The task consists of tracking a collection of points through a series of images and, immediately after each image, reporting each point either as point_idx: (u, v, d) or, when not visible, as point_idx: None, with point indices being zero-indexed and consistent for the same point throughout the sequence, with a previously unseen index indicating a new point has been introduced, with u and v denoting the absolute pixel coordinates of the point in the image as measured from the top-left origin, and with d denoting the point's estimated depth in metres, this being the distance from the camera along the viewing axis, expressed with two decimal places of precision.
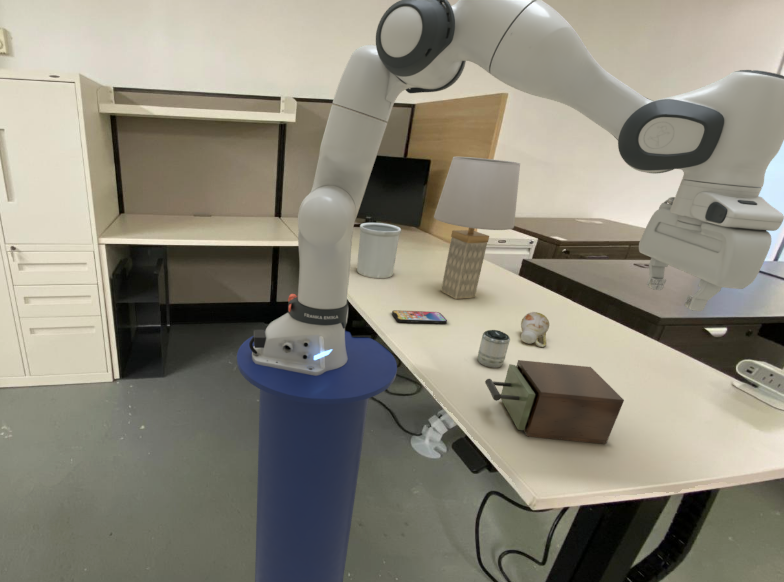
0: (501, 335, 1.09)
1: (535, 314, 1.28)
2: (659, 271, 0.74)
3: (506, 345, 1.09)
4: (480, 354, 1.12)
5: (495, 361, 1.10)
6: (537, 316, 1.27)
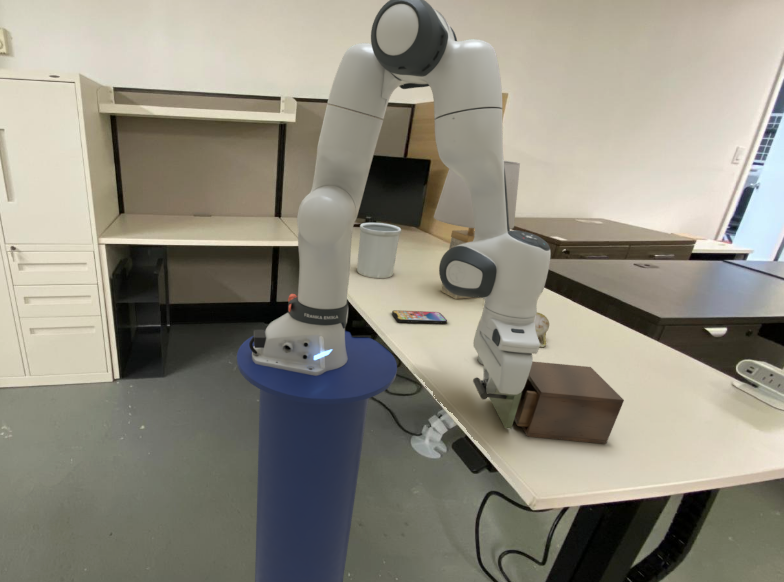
0: None
1: None
2: None
3: None
4: None
5: None
6: (537, 316, 1.27)
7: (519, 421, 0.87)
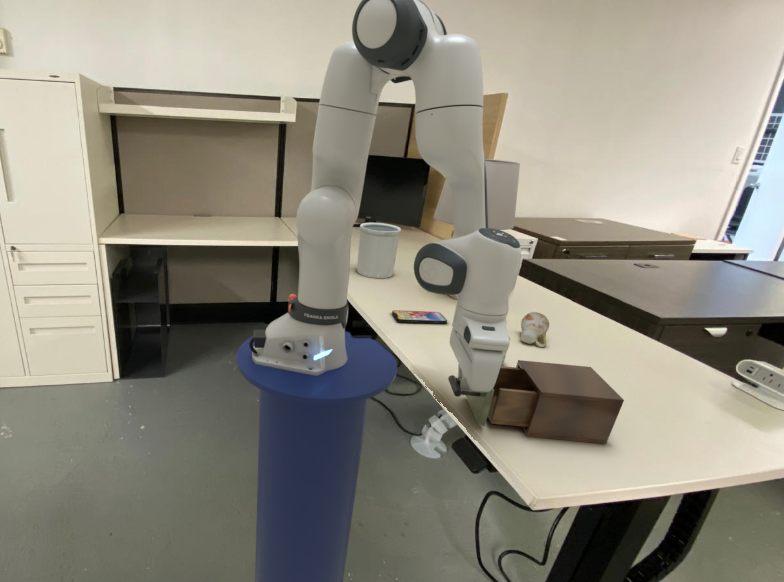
0: None
1: (535, 314, 1.28)
2: None
3: None
4: None
5: None
6: (537, 316, 1.27)
7: (492, 418, 0.87)
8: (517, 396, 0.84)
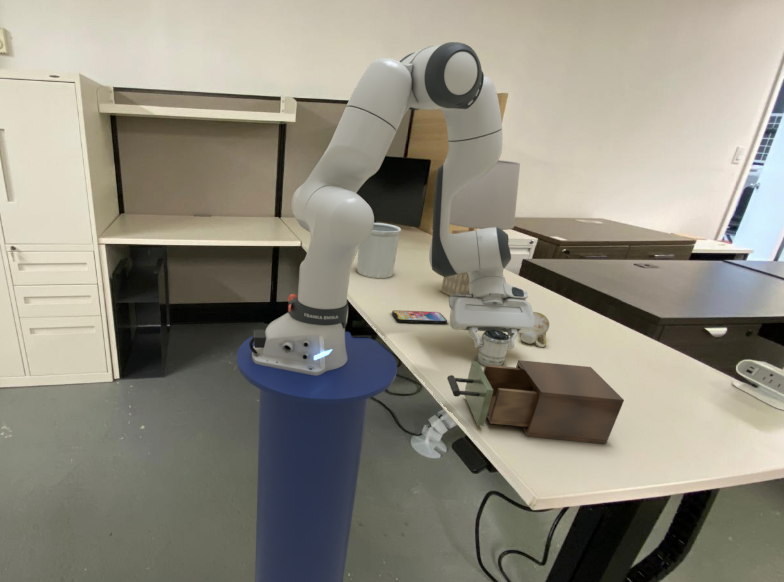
0: (501, 335, 1.09)
1: (535, 314, 1.28)
2: None
3: (506, 345, 1.09)
4: (480, 354, 1.12)
5: (495, 361, 1.10)
6: (537, 316, 1.27)
7: (492, 418, 0.87)
8: (516, 396, 0.84)
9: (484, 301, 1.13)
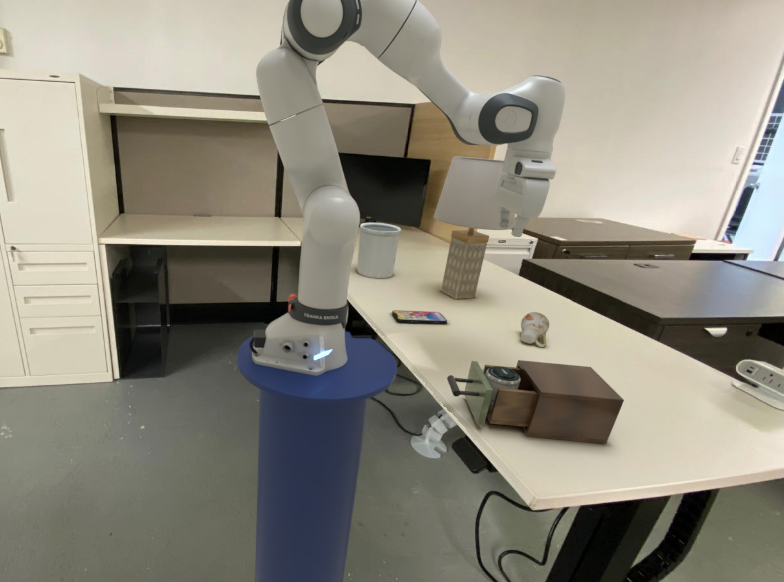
0: (510, 374, 0.87)
1: (535, 314, 1.28)
2: (505, 215, 1.07)
3: (516, 387, 0.87)
4: None
5: None
6: (537, 316, 1.27)
7: (491, 418, 0.87)
8: (516, 396, 0.84)
9: None
